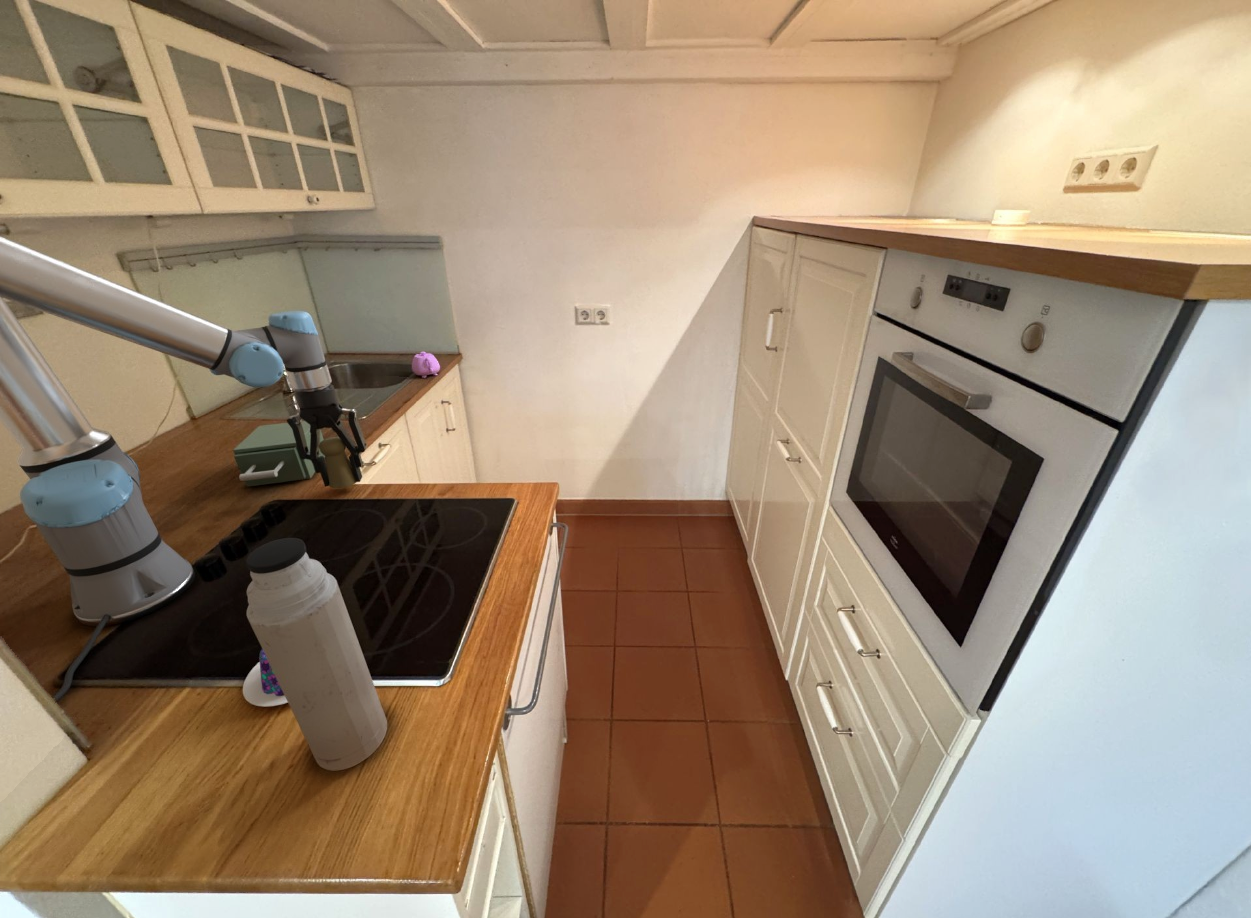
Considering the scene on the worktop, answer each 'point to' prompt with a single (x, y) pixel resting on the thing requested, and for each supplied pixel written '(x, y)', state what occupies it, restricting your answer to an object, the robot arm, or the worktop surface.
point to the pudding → (263, 685)
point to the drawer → (270, 466)
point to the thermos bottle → (314, 653)
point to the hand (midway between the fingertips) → (344, 481)
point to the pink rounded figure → (425, 364)
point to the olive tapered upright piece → (337, 463)
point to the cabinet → (277, 442)
